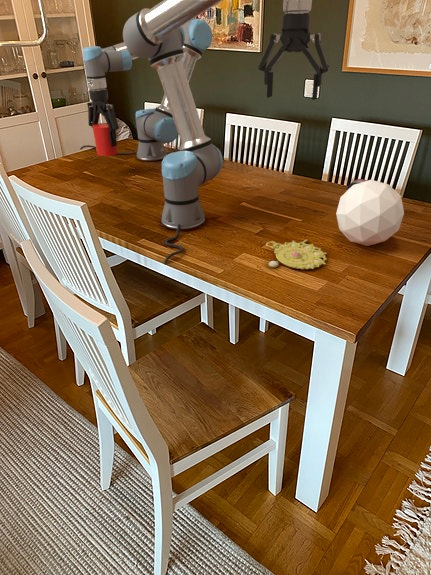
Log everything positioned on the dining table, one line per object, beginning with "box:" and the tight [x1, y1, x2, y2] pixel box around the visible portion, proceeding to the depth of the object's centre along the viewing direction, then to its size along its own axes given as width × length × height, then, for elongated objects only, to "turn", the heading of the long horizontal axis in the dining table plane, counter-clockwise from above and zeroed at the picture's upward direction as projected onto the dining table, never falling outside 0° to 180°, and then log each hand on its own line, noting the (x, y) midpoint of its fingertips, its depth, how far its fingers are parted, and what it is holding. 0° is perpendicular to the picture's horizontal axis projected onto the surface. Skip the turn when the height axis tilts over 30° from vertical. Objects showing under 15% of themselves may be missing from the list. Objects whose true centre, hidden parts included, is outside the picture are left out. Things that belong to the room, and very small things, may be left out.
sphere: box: [335, 179, 405, 247], centre depth 135 cm, size 19×20×20 cm
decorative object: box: [265, 238, 328, 270], centre depth 132 cm, size 21×2×20 cm
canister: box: [92, 122, 119, 157], centre depth 193 cm, size 9×9×12 cm
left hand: (106, 144), depth 195 cm, fingers closed on canister, 9 cm apart
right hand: (291, 98), depth 130 cm, fingers open, 13 cm apart
